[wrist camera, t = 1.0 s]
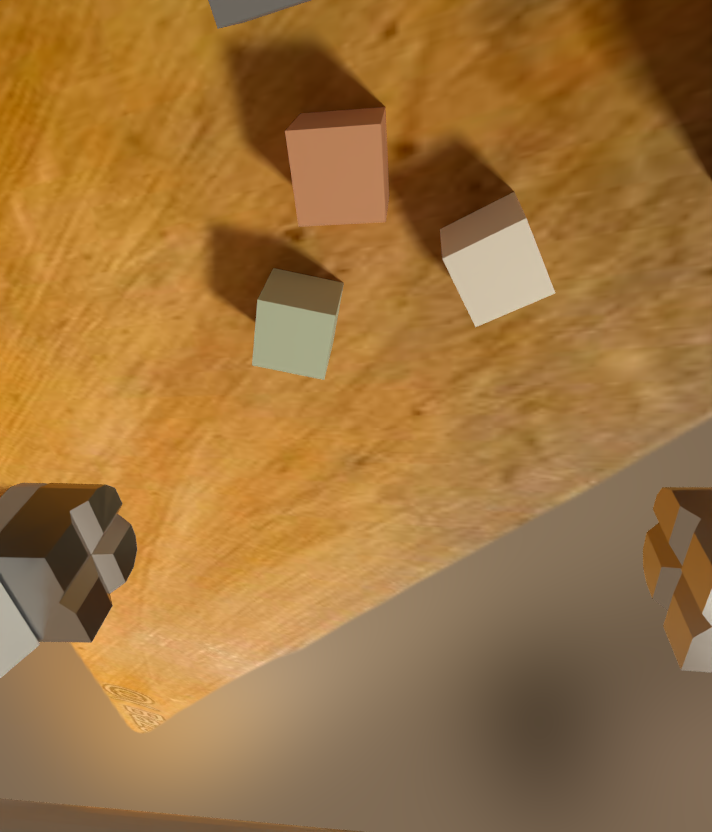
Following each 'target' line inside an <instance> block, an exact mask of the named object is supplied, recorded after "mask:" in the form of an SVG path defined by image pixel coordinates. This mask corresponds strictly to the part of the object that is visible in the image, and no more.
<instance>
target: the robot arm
mask: <svg viewBox="0 0 712 832" xmlns="http://www.w3.org/2000/svg"><path fill="white" fill-rule="evenodd" d="M121 506H122V502H121V500H120V498H119V496H118V493H117V491H116V489H115V488H113V487H111V486H108V485H102V484H68V483H49V484H45V483H20V484H17V485H14V486H12V487H10V488H9V489H8V490H7V491H6V492H5V493H4V494H3V495H2V496H1V497H0V678H1V677H2V676H3V675H5V674H6V673H7V672H8V671H9V670H10V669H11V668H13V667H14V666H15V665H16V664H17V663H19V662H20V661H21V660H22V659H23V658H24V657H26V656H27V655H28V654H29V653H30V652H31V651H33V650H34V649H35V648H36V647H37V646H39V644H40V643H39V642H42V641H43V642H92V641H93V639H94V637H95V636H96V634H97V632H98V630H99V629H100V627H101V625H102V623H103V621H104V620H105V618H106V616H107V614H108V613H109V611H110V609H111V607H112V606H113V605H112V601H111V596H110V593H111V592H113V591H114V590H116V589H117V588H118V587H120V586H121V585H123V584H124V583H125V582H126V581H127V579H128V577H129V575H130V573H131V571H132V569H133V567H134V563H135V557H136V552H137V544H136V536H135V533H134V531H133V528H132V526H131V524H130V523H129V522H127V521H126V520H125V519H124V518H122V517H121V516H120V515H119V514H118V512H119V510H120V508H121ZM653 510H654V512H655V515H656V517H657V519H658V521H659V523H658V524H657V525H656V526H654V527H653V528H652V529H650V530H649V531H648V532H647V534H646V538H645V543H644V547H643V568H644V573H645V578H646V582H647V585H648V588H649V591H650V593H651V596H652V599H654V600H655V601H656V602H657V603H659V604H660V605H661V606H662V607H664V608H665V609H666V610H667V611H668V613H667V616H666V619H665V622H664V625H663V627H664V629H665V632H666V634H667V637H668V639H669V642H670V644H671V646H672V649H673V651H674V654H675V656H676V659H677V661H678V664H679V666H680V668H681V670H687V671H699V672H712V487H670V488H669V487H665V488H664V487H663V488H662V489H661V490H660V492H659V493H658V494H657V497H656V501H655V504H654V507H653ZM0 832H363V831H352V830H340V829H330V828H318V827H308V826H297V825H286V824H276V823H265V822H254V821H243V820H231V819H220V818H210V817H199V816H188V815H177V814H166V813H155V812H143V811H132V810H122V809H110V808H100V807H88V806H78V805H66V804H56V803H45V802H34V801H22V800H12V799H1V798H0Z"/></svg>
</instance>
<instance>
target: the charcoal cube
mask: <svg viewBox="0 0 712 832" xmlns="http://www.w3.org/2000/svg"><path fill="white" fill-rule="evenodd" d="M208 1H209V4H210V7H211V10H212V13H213V16H214V19H215V22H216V25H217V28H218V29H219V28H223V27H227V26H231V25H235V24H239V23H243V22H246V21H249V20H253V19H256V18H259V17H262V16H265V15H268V14H271V13H274V12H277V11H280V10H283V9H286V8H289V7H292V6H295V5H298V4H301V3H304V2H307V1H310V0H208Z"/></svg>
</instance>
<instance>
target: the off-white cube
mask: <svg viewBox="0 0 712 832" xmlns="http://www.w3.org/2000/svg"><path fill="white" fill-rule="evenodd" d="M440 237H441V249H442V259H443V261H444V263H445V265H446V267H447V269H448V271H449V273H450V275H451V278H452V280H453V282H454V284H455V286H456V288H457V290H458V292H459V294H460V296H461V298H462V300H463V302H464V304H465V306H466V308H467V310H468V312H469V314H470V316H471V318H472V320H473V322H474V325H475V327H477V326H480V325H482V324H484V323H487V322H489V321H491V320H494V319H496V318H498V317H501V316H503V315H505V314H508V313H510V312H512V311H515V310H517V309H519V308H522V307H524V306H526V305H529V304H531V303H533V302H536V301H538V300H540V299H543V298H545V297H547V296H550V295H552V294H554V293H555V291H554V288H553V286H552V283H551V281H550V278H549V276H548V273H547V270H546V268H545V265H544V263H543V260H542V257H541V255H540V252H539V250H538V247H537V245H536V242H535V239H534V237H533V234H532V232H531V229H530V227H529V224H528V221H527V219H526V216H525V214H524V212H523V210H522V208H521V205H520V203H519V201H518V199H517V196H516V194H515V192H513V193H511V194H509V195H507V196H505V197H503V198H501V199H499V200H497V201H495V202H493V203H491V204H489V205H487V206H485V207H483V208H481V209H479V210H477V211H475V212H473V213H471V214H469V215H467V216H465V217H463V218H461V219H459V220H457V221H455V222H453V223H451V224H449V225H447V226H445V227H443V228H441V229H440Z"/></svg>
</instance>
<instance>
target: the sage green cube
mask: <svg viewBox="0 0 712 832" xmlns="http://www.w3.org/2000/svg"><path fill="white" fill-rule="evenodd" d="M343 285H344V283H342V282H338V281H333V280H328V279H323V278H318V277H314V276H309V275H304V274H299V273H295V272H290V271H285V270H280V269H275V268H273V270H272V272H271V274H270V276H269V278H268V280H267V282H266V284H265V286H264V288H263V290H262V292H261V294H260V296H259V298H258V300H257V312H256V324H255V336H254V349H253V361H252V365H253V366H258V367H263V368H268V369H273V370H278V371H283V372H288V373H293V374H298V375H303V376H308V377H313V378H318V379H323V380H324V379H325V374H326V370H327V366H328V362H329V358H330V353H331V349H332V345H333V340H334V335H335V329H336V324H337V318H338V313H339V307H340V301H341V296H342V290H343Z"/></svg>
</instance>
